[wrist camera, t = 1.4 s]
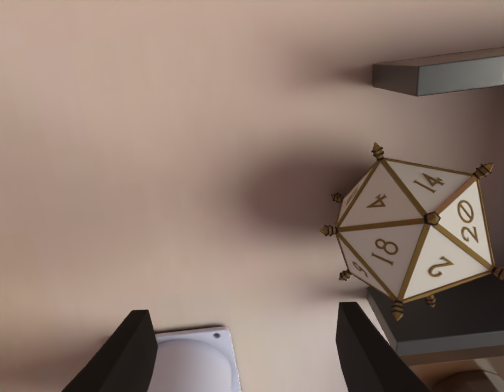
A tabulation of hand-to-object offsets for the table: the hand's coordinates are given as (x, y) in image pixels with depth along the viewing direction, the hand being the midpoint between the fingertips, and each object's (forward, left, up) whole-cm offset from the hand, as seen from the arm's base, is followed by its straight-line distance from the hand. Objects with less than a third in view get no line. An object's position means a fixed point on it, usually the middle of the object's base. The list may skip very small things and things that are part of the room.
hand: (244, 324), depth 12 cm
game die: (+9, 0, -10) cm, 13 cm away
